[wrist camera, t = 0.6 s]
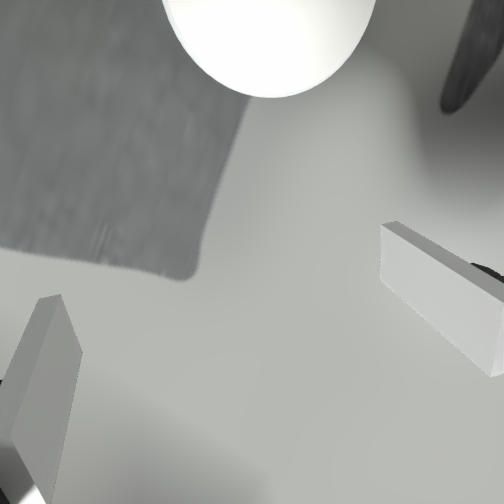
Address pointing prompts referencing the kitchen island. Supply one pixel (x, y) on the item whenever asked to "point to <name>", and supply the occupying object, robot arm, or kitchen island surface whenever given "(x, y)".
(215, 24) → the cake stand
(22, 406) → the robot arm
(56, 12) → the kitchen island surface
